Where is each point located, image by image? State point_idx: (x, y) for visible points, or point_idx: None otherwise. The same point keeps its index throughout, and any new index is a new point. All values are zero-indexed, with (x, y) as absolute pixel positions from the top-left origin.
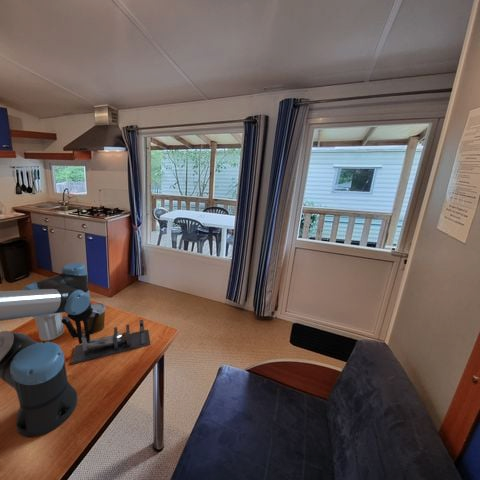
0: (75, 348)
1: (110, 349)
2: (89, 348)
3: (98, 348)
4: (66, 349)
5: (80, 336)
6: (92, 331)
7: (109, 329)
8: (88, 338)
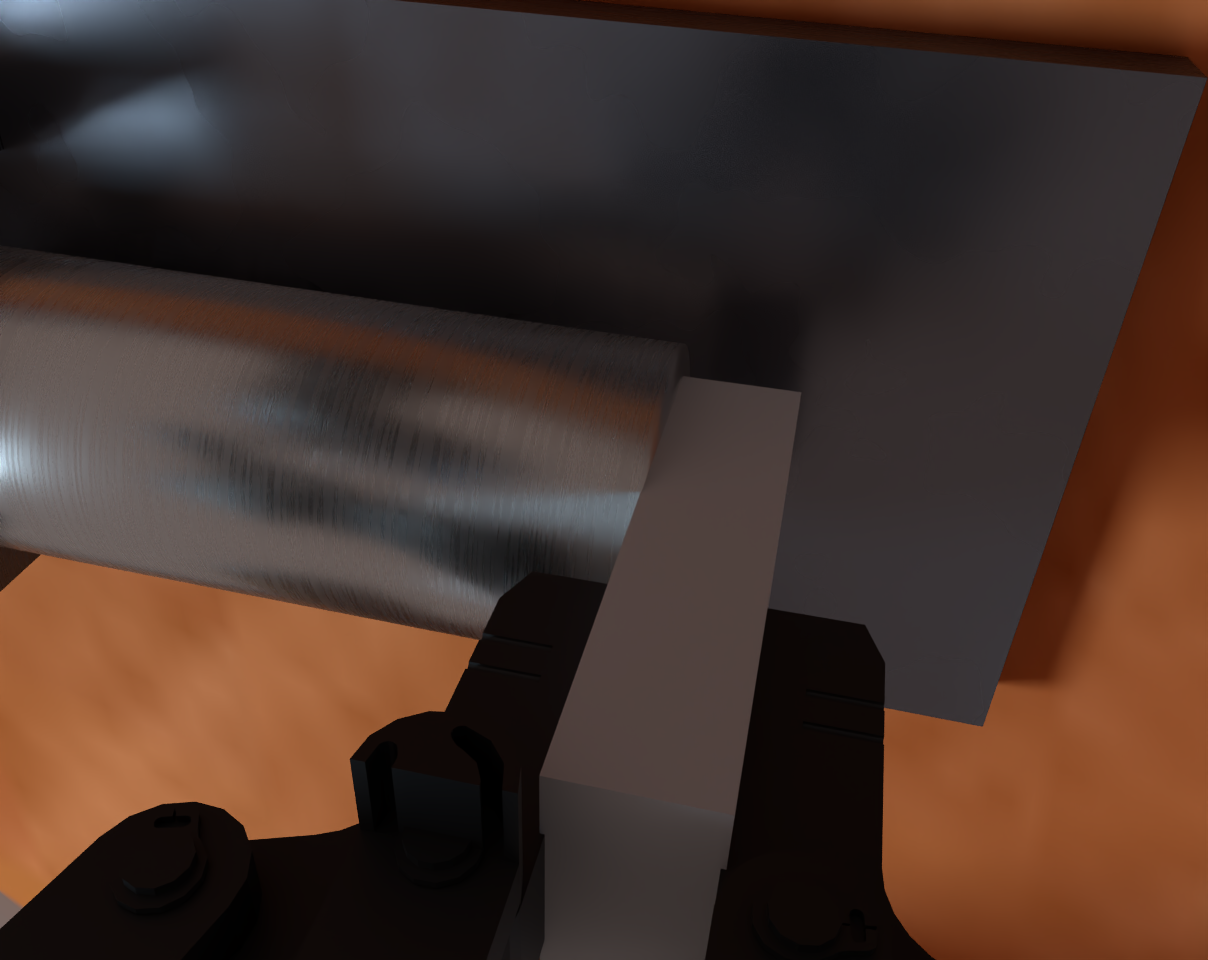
0: (998, 640)
1: (101, 134)
2: (593, 346)
3: None
4: (1192, 732)
5: (751, 934)
6: (66, 946)
7: (326, 828)
8: (496, 687)
